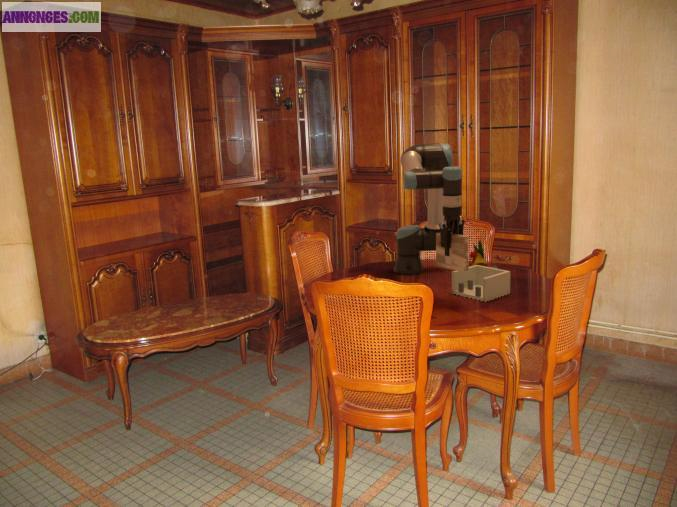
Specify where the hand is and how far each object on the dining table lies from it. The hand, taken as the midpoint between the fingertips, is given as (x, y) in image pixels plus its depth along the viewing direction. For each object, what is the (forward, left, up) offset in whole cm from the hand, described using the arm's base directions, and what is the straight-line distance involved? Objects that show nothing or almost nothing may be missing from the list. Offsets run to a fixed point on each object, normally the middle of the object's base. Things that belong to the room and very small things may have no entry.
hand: (451, 262), depth 237 cm
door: (0, 0, -2) cm, 2 cm away
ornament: (-29, +53, -18) cm, 63 cm away
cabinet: (0, +19, -17) cm, 26 cm away
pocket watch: (-6, +40, -18) cm, 44 cm away
